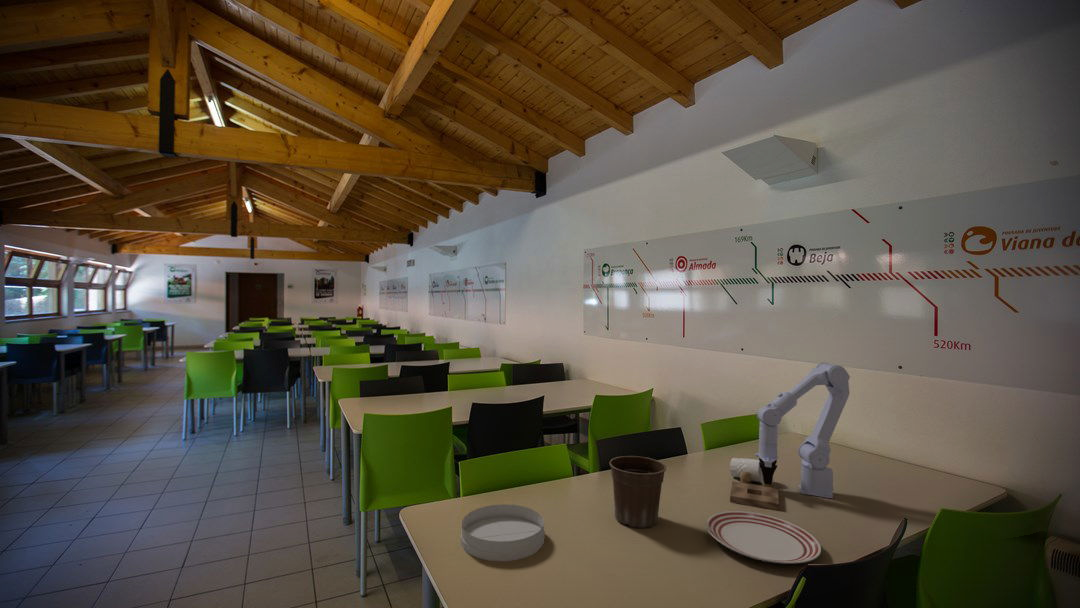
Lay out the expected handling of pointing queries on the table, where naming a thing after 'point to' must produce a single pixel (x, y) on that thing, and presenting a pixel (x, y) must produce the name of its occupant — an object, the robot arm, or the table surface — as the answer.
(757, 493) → the wooden board with hole
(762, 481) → the long dowel
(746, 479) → the short dowel
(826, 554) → the table surface
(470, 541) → the dish
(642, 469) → the plant pot
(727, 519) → the dinner plate
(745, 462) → the white cup
